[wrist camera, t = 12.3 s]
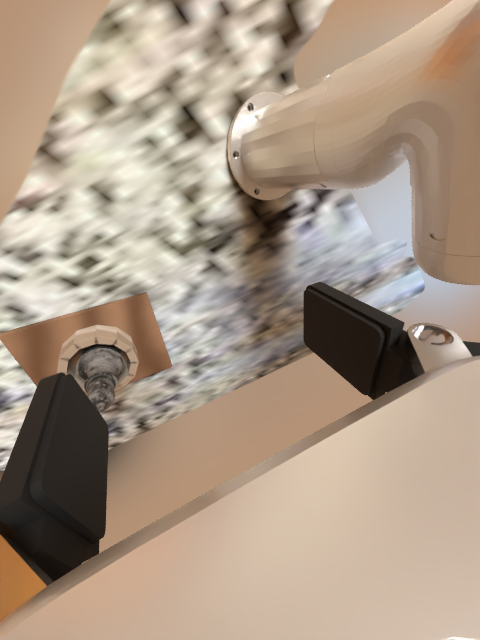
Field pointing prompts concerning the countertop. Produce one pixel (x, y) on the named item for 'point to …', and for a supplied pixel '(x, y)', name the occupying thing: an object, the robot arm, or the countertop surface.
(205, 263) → the countertop surface
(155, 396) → the countertop surface
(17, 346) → the board
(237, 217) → the countertop surface
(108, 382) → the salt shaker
